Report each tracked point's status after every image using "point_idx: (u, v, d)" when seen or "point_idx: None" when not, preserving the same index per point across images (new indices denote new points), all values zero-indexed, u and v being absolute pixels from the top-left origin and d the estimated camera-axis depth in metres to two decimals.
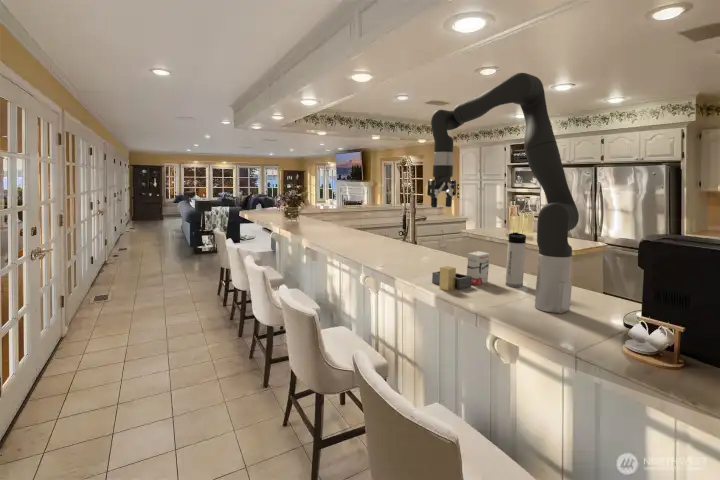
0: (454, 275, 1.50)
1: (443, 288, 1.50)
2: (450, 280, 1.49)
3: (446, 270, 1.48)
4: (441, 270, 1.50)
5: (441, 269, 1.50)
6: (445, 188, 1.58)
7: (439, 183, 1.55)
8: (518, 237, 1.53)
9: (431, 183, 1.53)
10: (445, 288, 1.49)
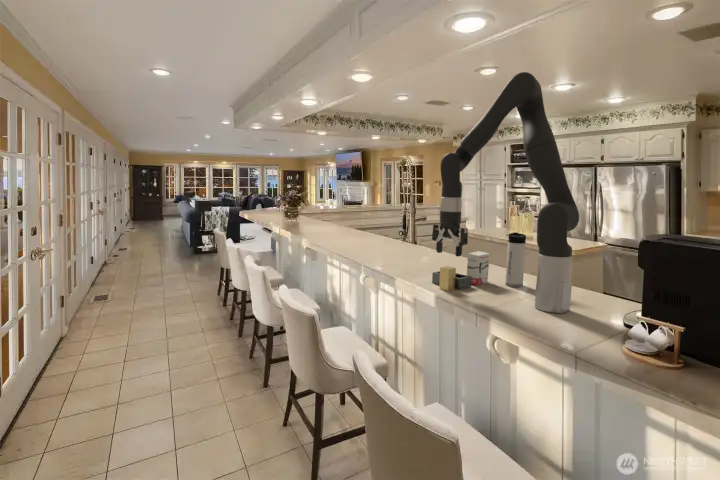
0: (454, 275, 1.50)
1: (443, 288, 1.50)
2: (450, 280, 1.49)
3: (446, 270, 1.48)
4: (441, 270, 1.50)
5: (441, 269, 1.50)
6: None
7: None
8: (518, 237, 1.53)
9: (466, 231, 1.43)
10: (445, 288, 1.49)
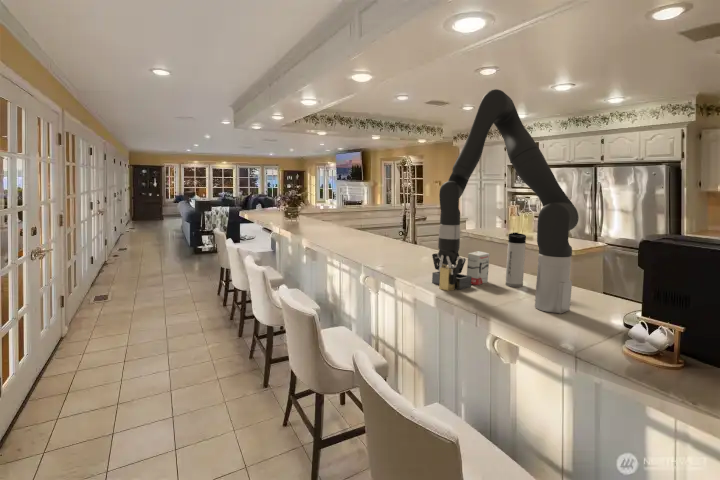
0: None
1: (443, 288, 1.50)
2: None
3: (446, 270, 1.48)
4: (441, 270, 1.50)
5: (441, 269, 1.50)
6: None
7: None
8: (518, 237, 1.53)
9: (463, 262, 1.45)
10: (445, 288, 1.49)
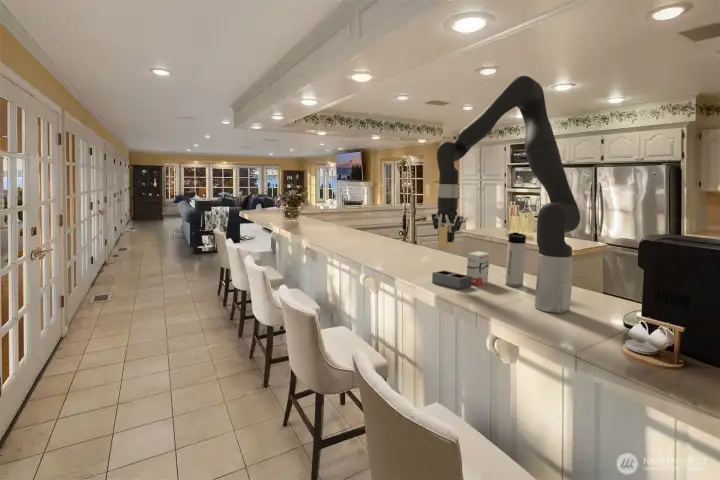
0: None
1: (442, 246, 1.56)
2: None
3: (445, 228, 1.55)
4: (440, 229, 1.56)
5: (440, 228, 1.56)
6: None
7: None
8: (518, 237, 1.53)
9: (461, 220, 1.52)
10: (444, 246, 1.56)
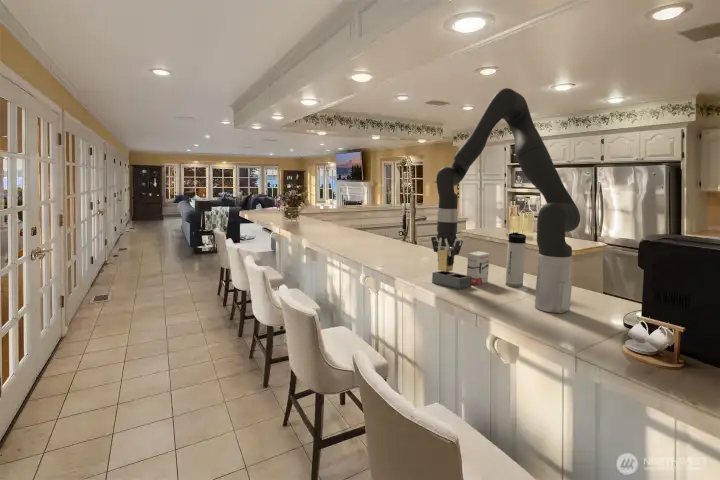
0: None
1: (441, 269, 1.58)
2: None
3: (444, 252, 1.56)
4: (439, 252, 1.58)
5: (439, 251, 1.58)
6: None
7: None
8: (518, 237, 1.53)
9: (460, 244, 1.53)
10: (443, 269, 1.57)
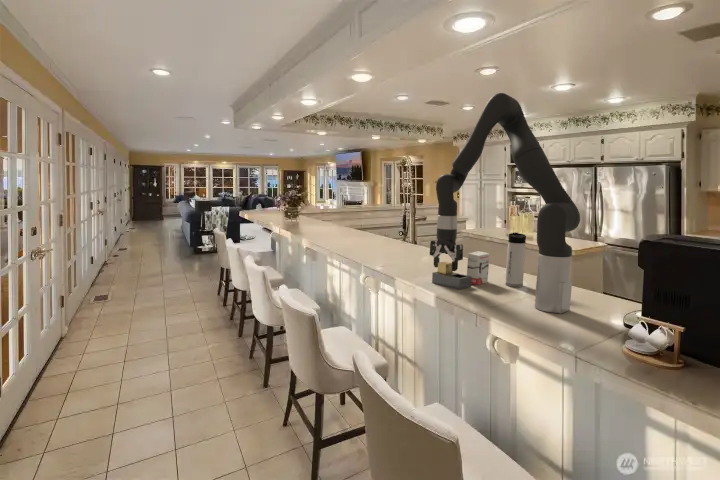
0: (451, 270, 1.58)
1: None
2: (447, 274, 1.57)
3: (443, 265, 1.57)
4: (439, 265, 1.59)
5: (439, 264, 1.59)
6: None
7: None
8: (518, 237, 1.53)
9: (461, 248, 1.53)
10: None
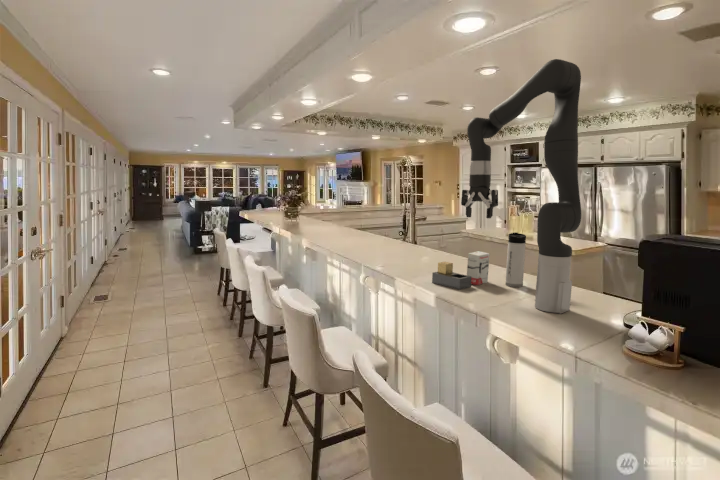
0: (451, 270, 1.58)
1: None
2: (447, 274, 1.57)
3: (443, 265, 1.57)
4: (439, 265, 1.59)
5: (439, 264, 1.59)
6: None
7: None
8: (518, 237, 1.53)
9: (497, 193, 1.48)
10: None
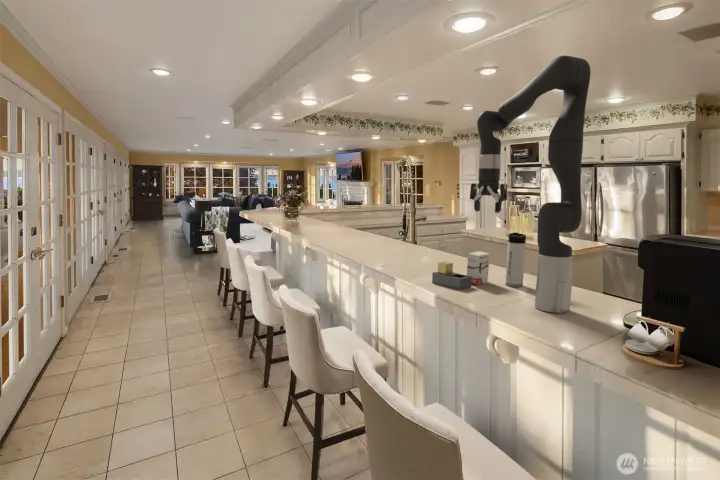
0: (451, 270, 1.58)
1: None
2: (447, 274, 1.57)
3: (443, 265, 1.57)
4: (439, 265, 1.59)
5: (439, 264, 1.59)
6: None
7: None
8: (518, 237, 1.53)
9: (506, 187, 1.47)
10: None
